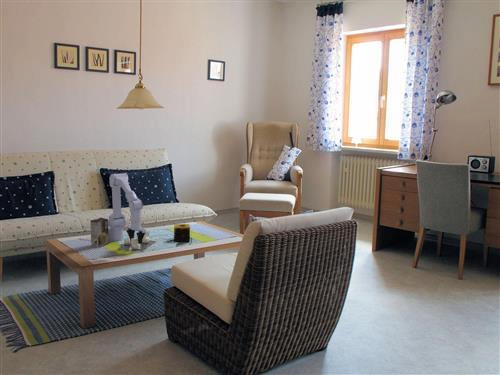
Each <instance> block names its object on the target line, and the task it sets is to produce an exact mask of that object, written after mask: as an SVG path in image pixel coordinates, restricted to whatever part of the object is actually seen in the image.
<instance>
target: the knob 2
mask: <svg viewBox="0 0 500 375" xmlns="http://www.w3.org/2000/svg"><path fill="white" fill-rule="evenodd" d="M149 240H150V232H149V231H146V233H145V235H144V237H143V240H142V243H148V242H149Z"/></svg>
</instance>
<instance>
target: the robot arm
mask: <svg viewBox="0 0 500 375" xmlns="http://www.w3.org/2000/svg"><path fill="white" fill-rule="evenodd" d="M108 178H109V187H111V192H112V196H111V197H112V198H111V200H112V213H111V214H110V215H108V232H109V244H110V243H113V242H119V241H123V240H124V228H125V227H126V230H125V231H126V233H127V235H128V239H130V242H131V239H133V238H135V235H137V237H136V238H138V244H141V243H142V240H143V237H144V235H145V233H146V232H147V231H146V229H145V228H144V227H142V219H141V218H142V214H141V213H142V211H141V210H142V209H143V207H144V206H143V205H144V204H143V201H142V200H141V199H140V198H138V196H137V195H136V193H135V191H133V190H132V189H131V187H130V184H129V175H128V174H127V173H126V172H123V173H114V174H113V173H111V174H110V175H109V177H108ZM121 188H122V190H123V191H124V193H125V199H126V200H127V202H128V209H129V213H130V224H129V225H127V219H126V215H125V214H124V213H123V212H122V200H121Z"/></svg>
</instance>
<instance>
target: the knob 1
mask: <svg viewBox="0 0 500 375" xmlns="http://www.w3.org/2000/svg"><path fill="white" fill-rule="evenodd" d="M131 244H132V249H140V244H138V237H134V238H133V239H131Z"/></svg>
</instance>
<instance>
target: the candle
mask: <svg viewBox="0 0 500 375" xmlns="http://www.w3.org/2000/svg"><path fill="white" fill-rule="evenodd" d="M173 226H174V227H173V228H174V229H173V242H174V243H190V242H191V225H190V223H174V224H173Z"/></svg>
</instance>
